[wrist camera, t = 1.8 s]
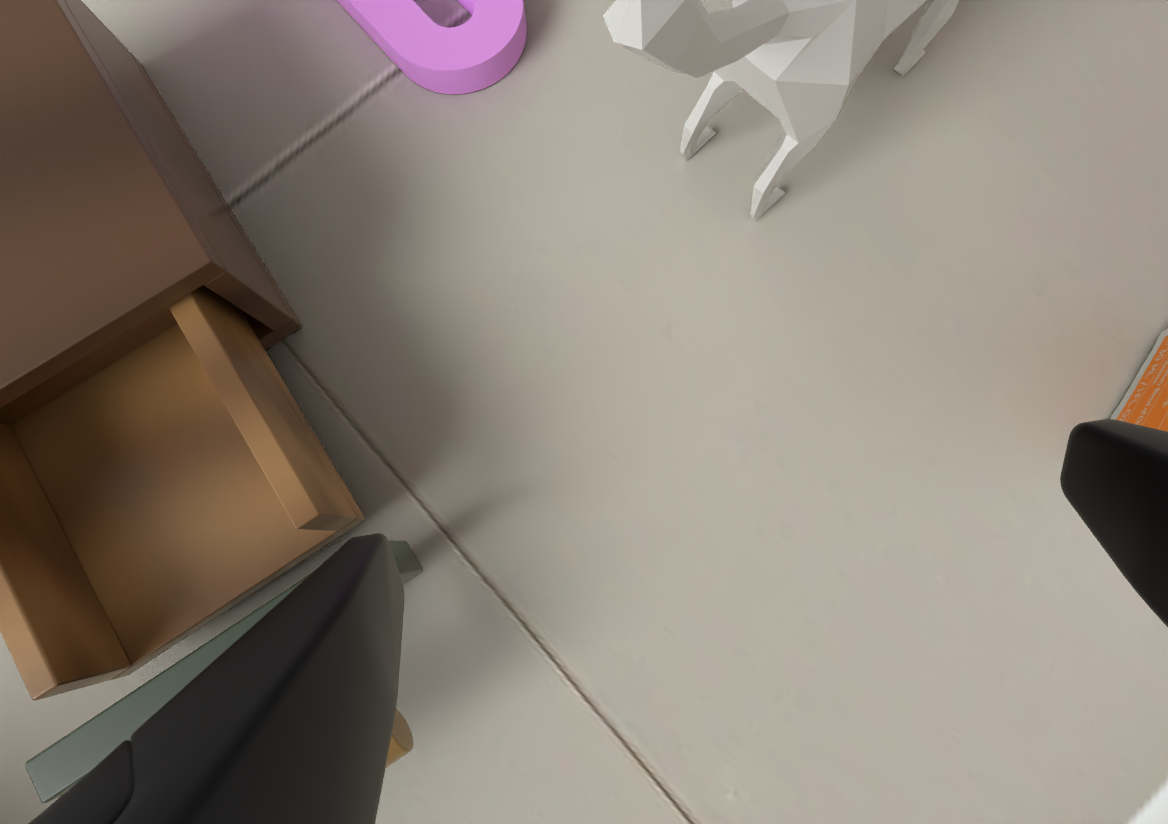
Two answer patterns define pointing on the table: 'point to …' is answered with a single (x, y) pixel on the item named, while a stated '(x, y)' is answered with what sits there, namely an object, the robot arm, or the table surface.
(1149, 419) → the cosmetic box
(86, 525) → the drawer
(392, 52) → the bracket
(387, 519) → the table surface
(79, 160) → the cabinet
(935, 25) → the cat figurine
